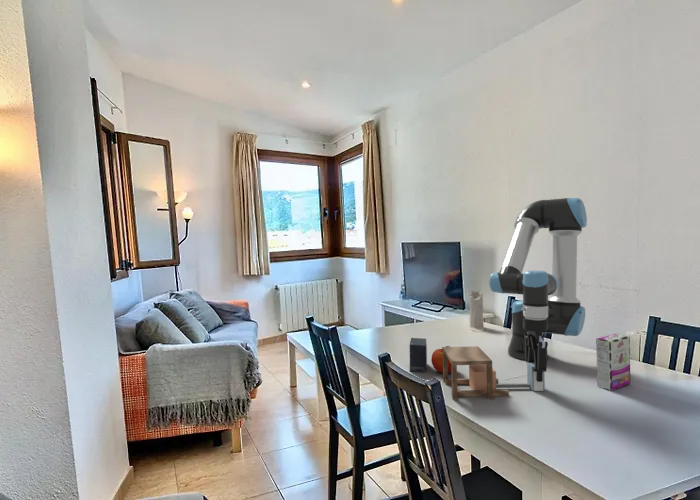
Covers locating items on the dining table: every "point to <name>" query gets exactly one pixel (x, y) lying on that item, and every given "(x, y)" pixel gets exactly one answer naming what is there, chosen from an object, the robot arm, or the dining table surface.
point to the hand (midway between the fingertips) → (535, 387)
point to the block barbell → (480, 378)
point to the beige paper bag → (476, 311)
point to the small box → (418, 354)
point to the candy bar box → (613, 361)
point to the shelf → (468, 358)
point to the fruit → (439, 360)
